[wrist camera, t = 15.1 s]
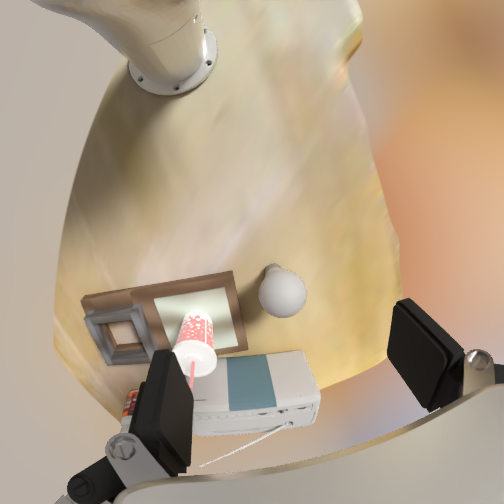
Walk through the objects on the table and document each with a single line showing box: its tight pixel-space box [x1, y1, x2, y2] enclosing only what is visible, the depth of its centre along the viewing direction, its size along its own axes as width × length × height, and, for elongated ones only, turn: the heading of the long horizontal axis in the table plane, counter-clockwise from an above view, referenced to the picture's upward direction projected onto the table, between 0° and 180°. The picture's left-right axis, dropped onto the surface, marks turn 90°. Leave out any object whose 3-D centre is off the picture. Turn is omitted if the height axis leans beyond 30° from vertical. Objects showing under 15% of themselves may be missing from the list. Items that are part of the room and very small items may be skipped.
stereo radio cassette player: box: [186, 350, 321, 468], centre depth 40 cm, size 21×8×20 cm, turn 92°
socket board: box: [81, 271, 248, 365], centre depth 42 cm, size 14×26×4 cm, turn 99°
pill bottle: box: [121, 390, 139, 433], centre depth 45 cm, size 6×6×11 cm
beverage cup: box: [172, 311, 217, 390], centre depth 35 cm, size 6×6×14 cm
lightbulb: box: [259, 264, 307, 318], centre depth 37 cm, size 6×6×11 cm
